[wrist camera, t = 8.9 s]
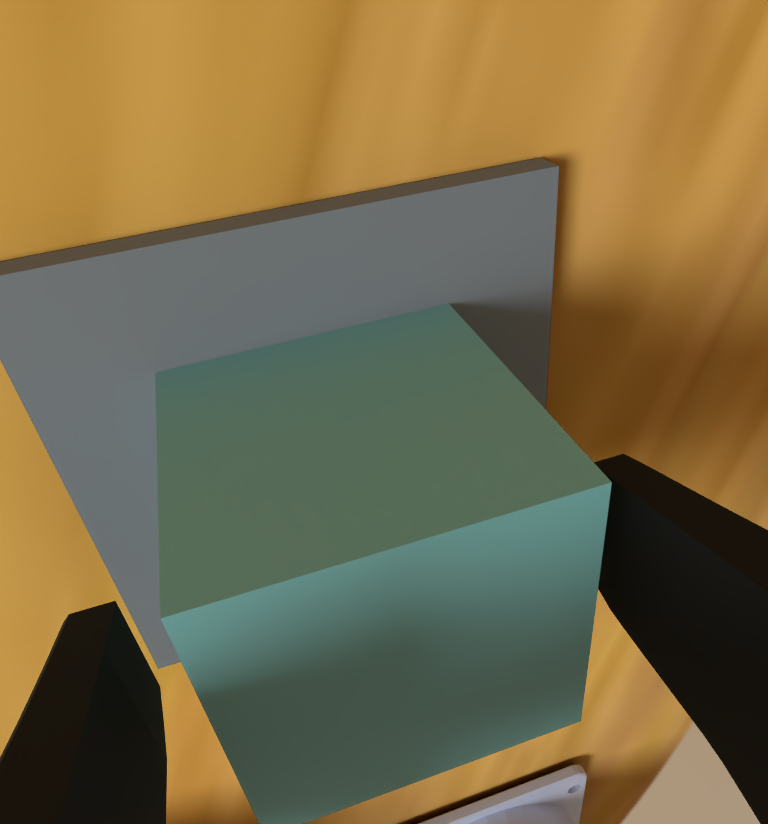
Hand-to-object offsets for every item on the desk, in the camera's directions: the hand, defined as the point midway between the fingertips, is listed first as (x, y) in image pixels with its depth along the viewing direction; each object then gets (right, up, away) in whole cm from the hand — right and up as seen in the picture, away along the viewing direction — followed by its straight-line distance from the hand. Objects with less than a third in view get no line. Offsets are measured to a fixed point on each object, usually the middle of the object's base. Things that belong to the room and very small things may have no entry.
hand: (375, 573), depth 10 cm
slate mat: (-1, +2, +3) cm, 4 cm away
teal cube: (-1, +2, +2) cm, 3 cm away
